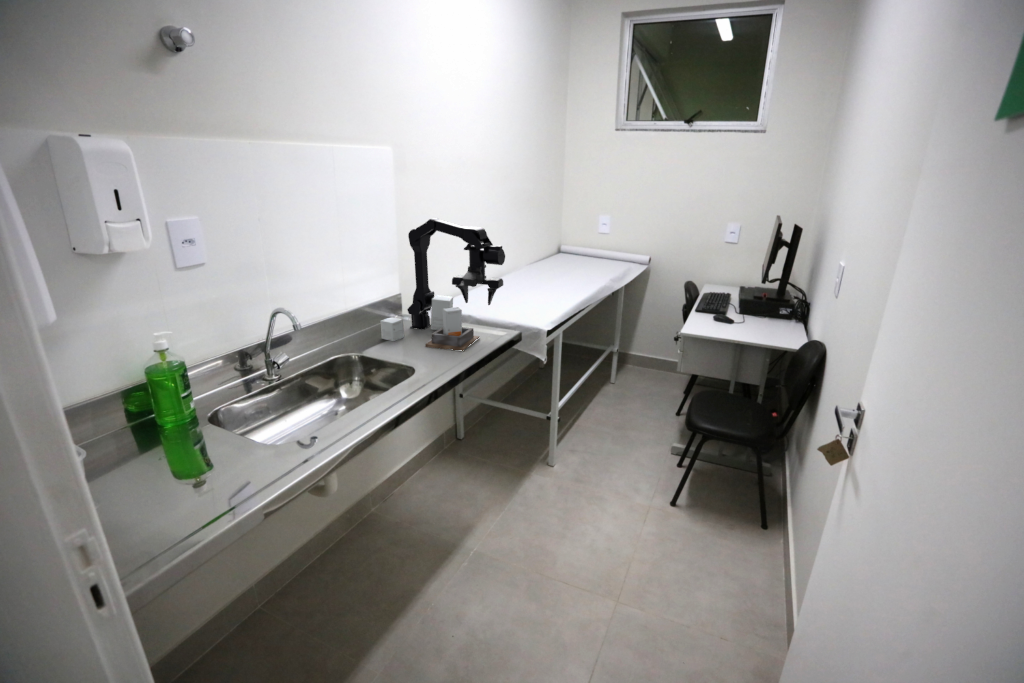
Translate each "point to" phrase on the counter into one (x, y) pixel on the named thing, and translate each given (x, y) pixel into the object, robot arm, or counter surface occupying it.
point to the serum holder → (452, 339)
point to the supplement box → (439, 310)
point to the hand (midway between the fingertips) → (477, 303)
